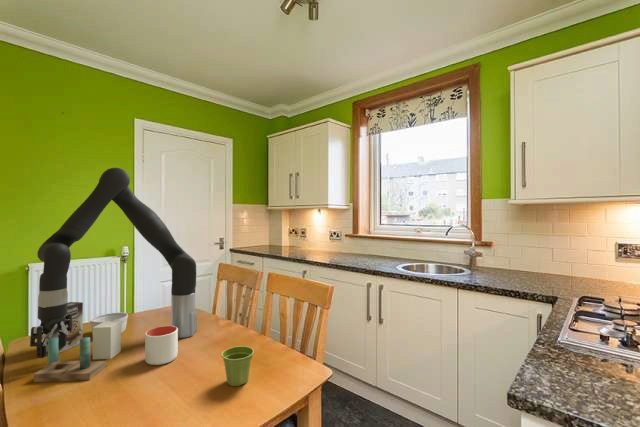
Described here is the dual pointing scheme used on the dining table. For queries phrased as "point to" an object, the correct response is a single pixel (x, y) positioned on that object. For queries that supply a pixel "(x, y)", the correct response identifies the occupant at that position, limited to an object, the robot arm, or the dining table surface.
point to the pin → (52, 350)
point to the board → (84, 372)
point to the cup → (161, 345)
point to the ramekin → (110, 319)
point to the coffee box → (77, 327)
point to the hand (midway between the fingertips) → (52, 351)
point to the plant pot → (237, 364)
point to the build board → (54, 371)
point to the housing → (106, 340)
